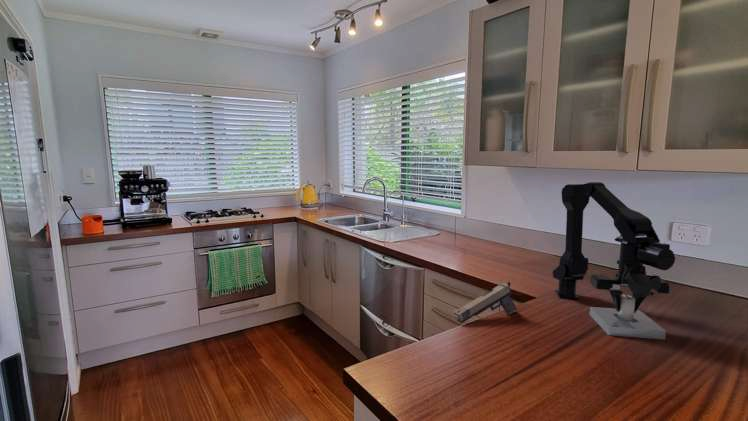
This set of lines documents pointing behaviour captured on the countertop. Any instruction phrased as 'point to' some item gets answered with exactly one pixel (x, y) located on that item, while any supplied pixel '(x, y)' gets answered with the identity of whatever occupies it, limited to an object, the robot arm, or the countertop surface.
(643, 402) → the countertop surface
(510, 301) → the toy gun
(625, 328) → the plate
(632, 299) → the knob
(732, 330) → the countertop surface
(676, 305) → the countertop surface
